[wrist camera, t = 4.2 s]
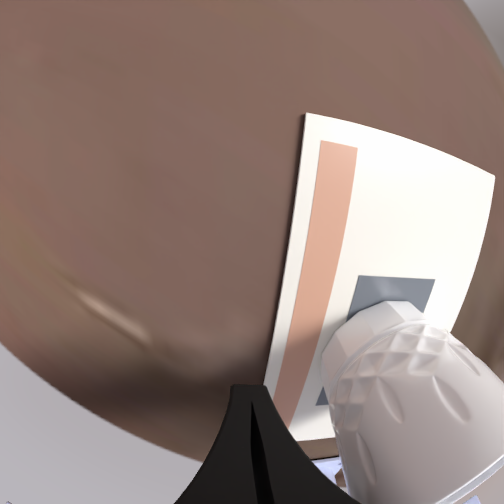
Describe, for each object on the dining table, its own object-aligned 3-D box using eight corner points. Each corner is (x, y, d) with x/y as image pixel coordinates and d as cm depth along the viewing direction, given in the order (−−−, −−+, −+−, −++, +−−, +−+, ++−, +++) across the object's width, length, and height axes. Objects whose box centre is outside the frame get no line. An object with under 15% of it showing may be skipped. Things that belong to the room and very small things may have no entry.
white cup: (294, 400, 15) (327, 553, 5) (329, 283, 12) (452, 489, 3) (400, 389, 15) (460, 499, 6) (448, 290, 13) (562, 397, 3)
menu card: (394, 423, 17) (394, 425, 17) (251, 440, 16) (251, 442, 16) (492, 175, 11) (495, 176, 11) (305, 113, 10) (306, 112, 9)
